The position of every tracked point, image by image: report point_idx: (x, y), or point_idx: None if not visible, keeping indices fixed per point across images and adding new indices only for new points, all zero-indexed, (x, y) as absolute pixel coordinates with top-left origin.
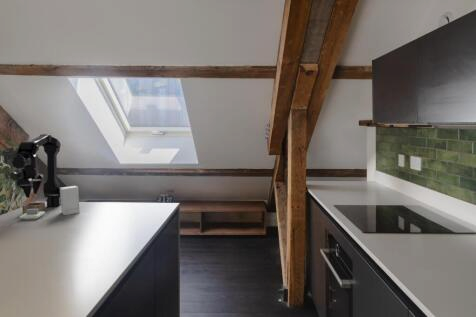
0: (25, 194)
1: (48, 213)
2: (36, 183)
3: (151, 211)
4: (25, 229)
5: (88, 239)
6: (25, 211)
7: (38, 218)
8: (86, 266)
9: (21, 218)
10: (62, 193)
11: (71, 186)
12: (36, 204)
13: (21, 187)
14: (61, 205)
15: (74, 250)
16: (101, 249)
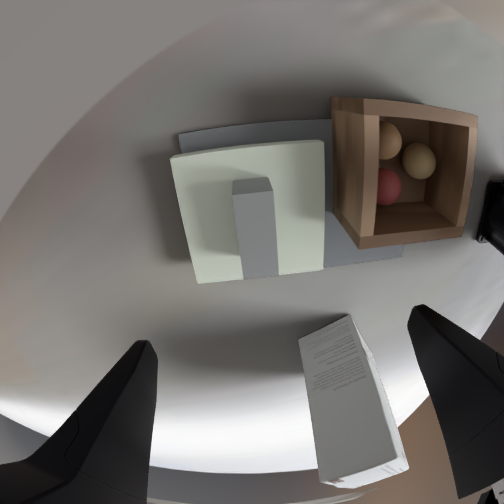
0: (105, 380)
1: (352, 256)
2: (480, 450)
3: (294, 461)
4: (53, 278)
5: None
6: (343, 119)
7: None
8: (11, 408)
9: (231, 132)
10: (317, 457)
11: (388, 474)
12: (455, 174)
13: (13, 466)
14: (355, 354)
15: (28, 402)
16: (51, 424)
